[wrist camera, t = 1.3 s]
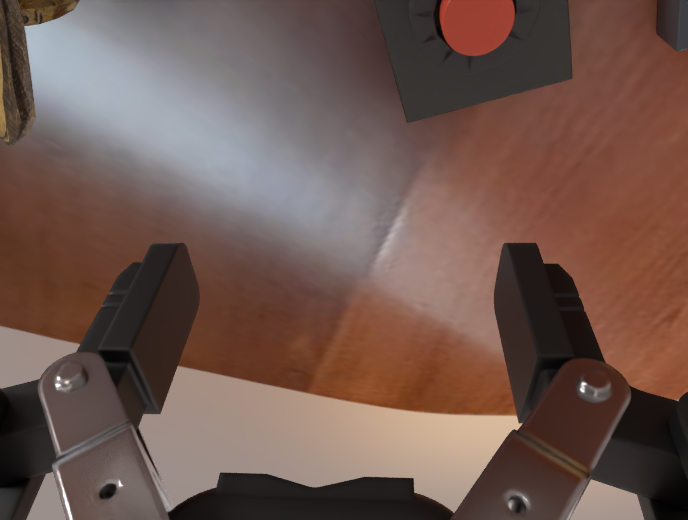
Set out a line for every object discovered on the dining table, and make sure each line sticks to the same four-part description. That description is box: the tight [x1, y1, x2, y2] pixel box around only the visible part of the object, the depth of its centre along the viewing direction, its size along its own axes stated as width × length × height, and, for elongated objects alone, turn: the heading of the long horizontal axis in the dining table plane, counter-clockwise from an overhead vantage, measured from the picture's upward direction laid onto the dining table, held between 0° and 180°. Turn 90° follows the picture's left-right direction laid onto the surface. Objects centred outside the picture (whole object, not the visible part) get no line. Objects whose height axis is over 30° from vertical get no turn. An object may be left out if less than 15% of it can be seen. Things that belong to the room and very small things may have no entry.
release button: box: [439, 0, 515, 56], centre depth 28 cm, size 4×4×2 cm
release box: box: [374, 0, 573, 123], centre depth 30 cm, size 12×10×4 cm
